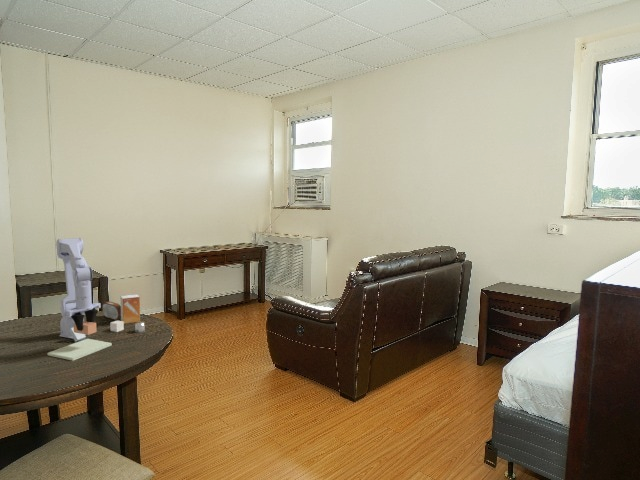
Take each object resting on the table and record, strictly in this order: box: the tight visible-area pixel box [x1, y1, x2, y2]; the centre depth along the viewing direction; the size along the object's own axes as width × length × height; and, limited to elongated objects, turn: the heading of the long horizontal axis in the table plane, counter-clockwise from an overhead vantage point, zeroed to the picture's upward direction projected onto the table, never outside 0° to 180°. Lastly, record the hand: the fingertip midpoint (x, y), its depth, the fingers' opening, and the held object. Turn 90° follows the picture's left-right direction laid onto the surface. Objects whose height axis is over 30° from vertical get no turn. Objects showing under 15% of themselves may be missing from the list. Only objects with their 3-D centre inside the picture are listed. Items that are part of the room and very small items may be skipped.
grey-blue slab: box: [69, 327, 87, 343], centre depth 181 cm, size 6×4×2 cm
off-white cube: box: [109, 320, 125, 333], centre depth 195 cm, size 4×4×4 cm
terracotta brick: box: [73, 320, 98, 336], centre depth 171 cm, size 8×4×4 cm, turn 69°
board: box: [47, 338, 112, 362], centre depth 170 cm, size 14×18×1 cm
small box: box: [119, 293, 141, 325], centre depth 208 cm, size 8×6×13 cm
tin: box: [101, 300, 121, 321], centre depth 213 cm, size 15×3×8 cm, turn 57°
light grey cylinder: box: [134, 321, 146, 334], centre depth 194 cm, size 4×4×4 cm
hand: (84, 328), depth 171 cm, fingers closed on terracotta brick, 4 cm apart
